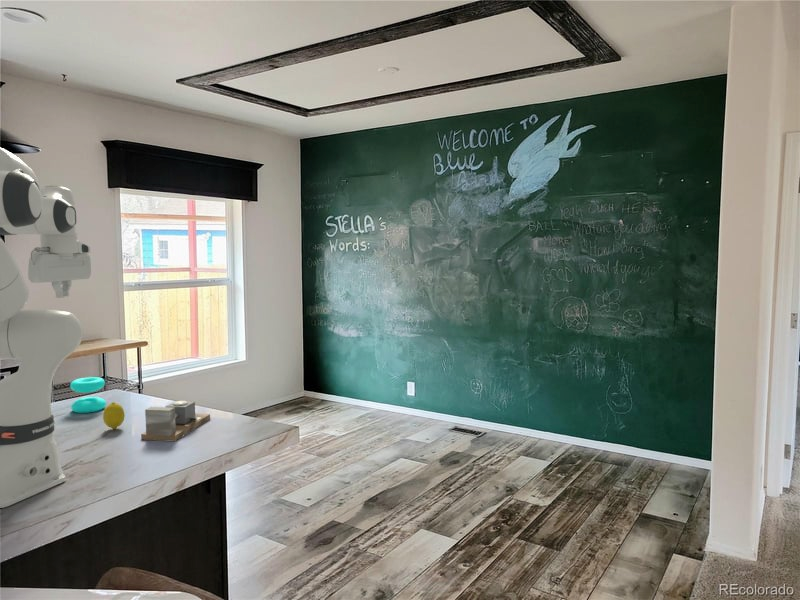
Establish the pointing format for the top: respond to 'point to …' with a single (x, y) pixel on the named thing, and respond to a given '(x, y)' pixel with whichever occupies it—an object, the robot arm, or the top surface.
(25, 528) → the top surface
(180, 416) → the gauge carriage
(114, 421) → the lemon
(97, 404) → the donuts
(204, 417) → the bench
